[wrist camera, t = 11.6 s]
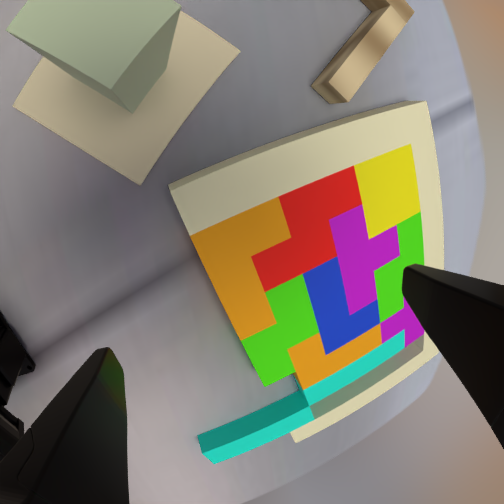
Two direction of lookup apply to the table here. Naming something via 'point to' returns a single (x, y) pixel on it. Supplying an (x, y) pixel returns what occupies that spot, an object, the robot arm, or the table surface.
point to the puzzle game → (320, 263)
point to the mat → (119, 119)
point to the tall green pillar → (103, 42)
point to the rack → (362, 50)
